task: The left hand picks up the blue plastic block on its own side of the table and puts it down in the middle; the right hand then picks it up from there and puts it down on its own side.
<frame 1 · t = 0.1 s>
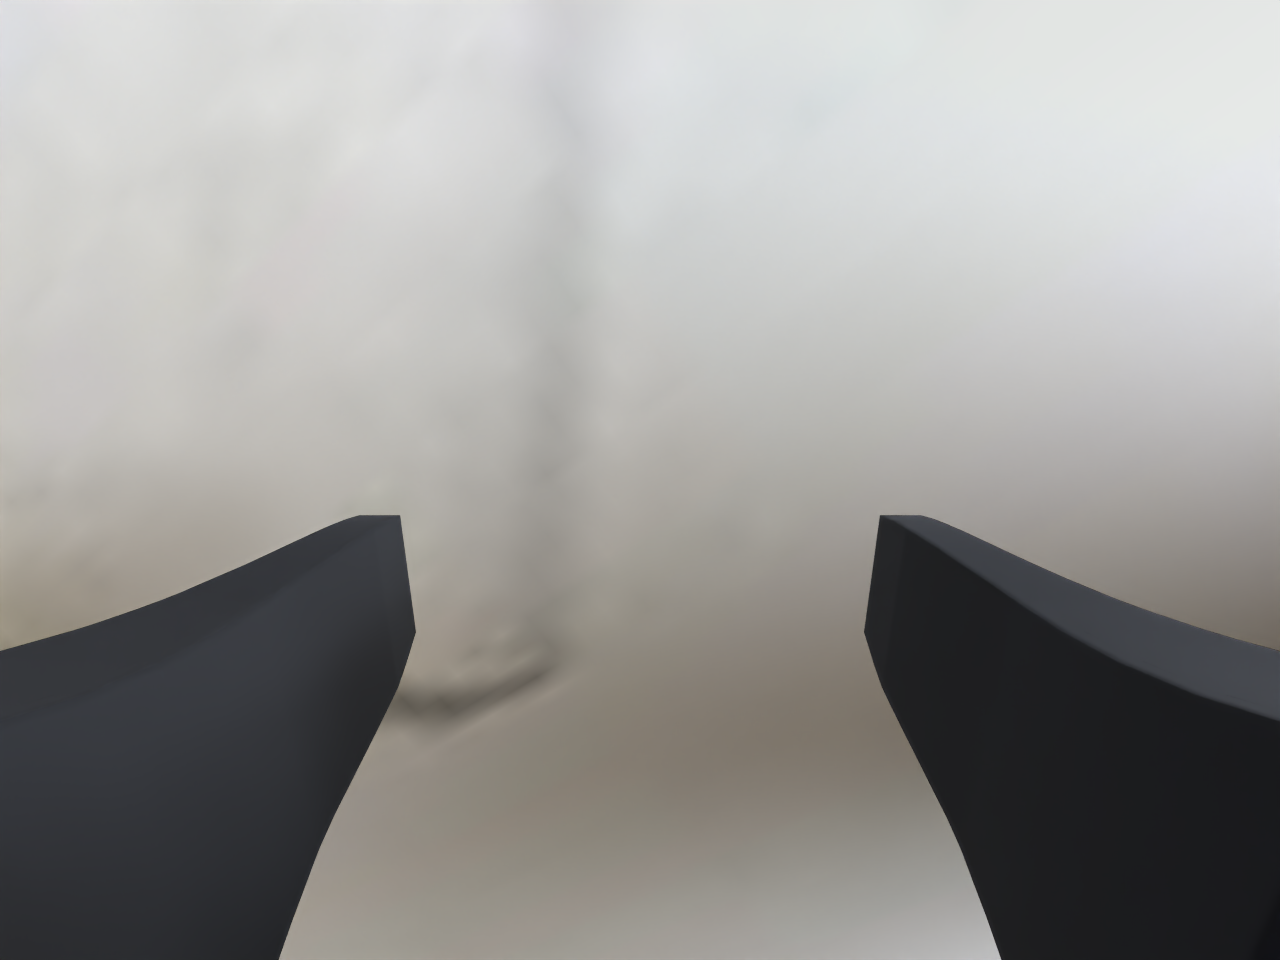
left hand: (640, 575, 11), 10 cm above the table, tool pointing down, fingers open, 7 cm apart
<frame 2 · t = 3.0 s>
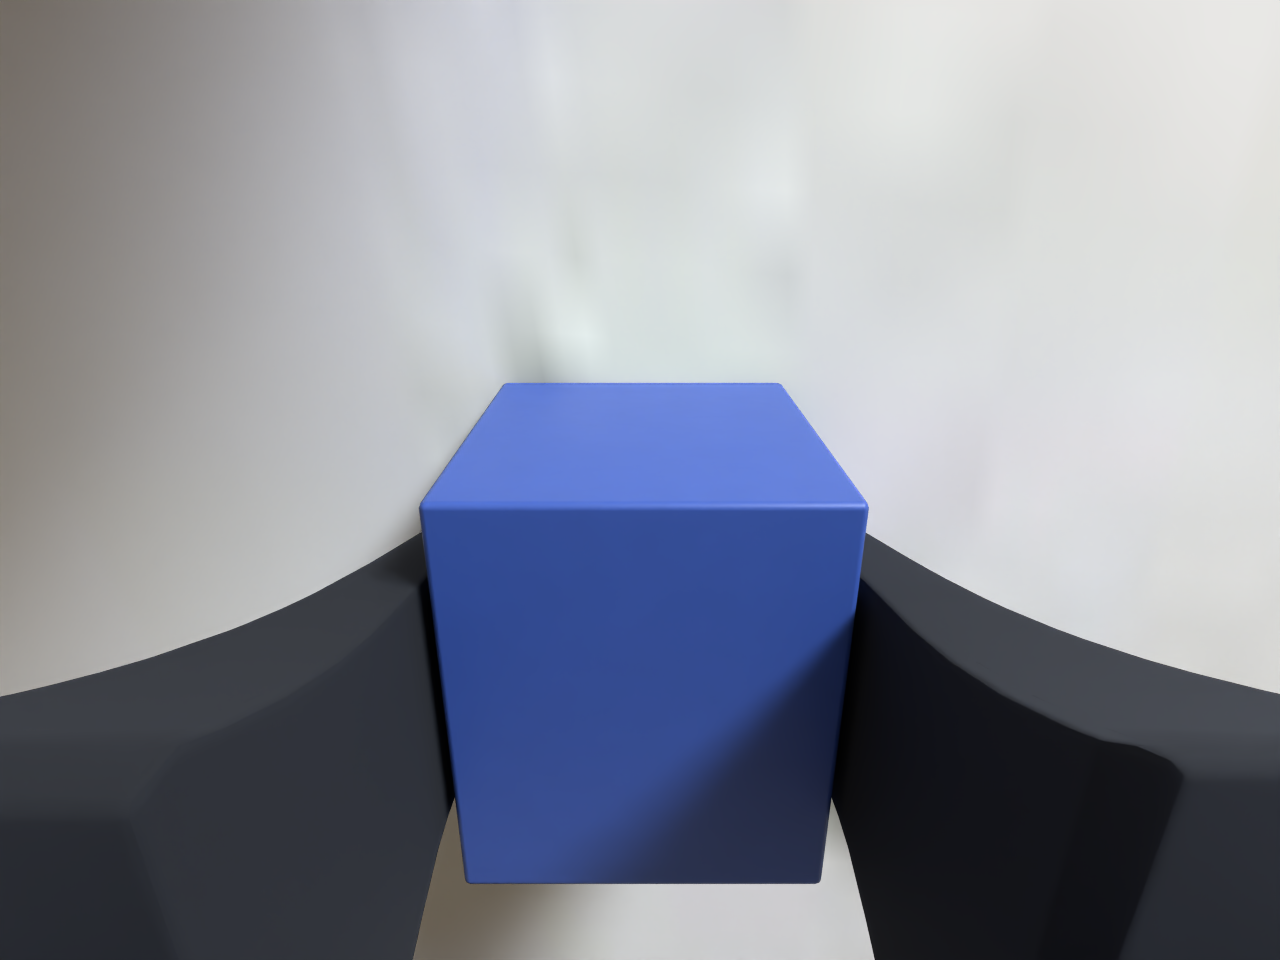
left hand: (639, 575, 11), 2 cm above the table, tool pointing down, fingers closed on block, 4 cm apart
block: (642, 528, 12), on the table, touching left hand
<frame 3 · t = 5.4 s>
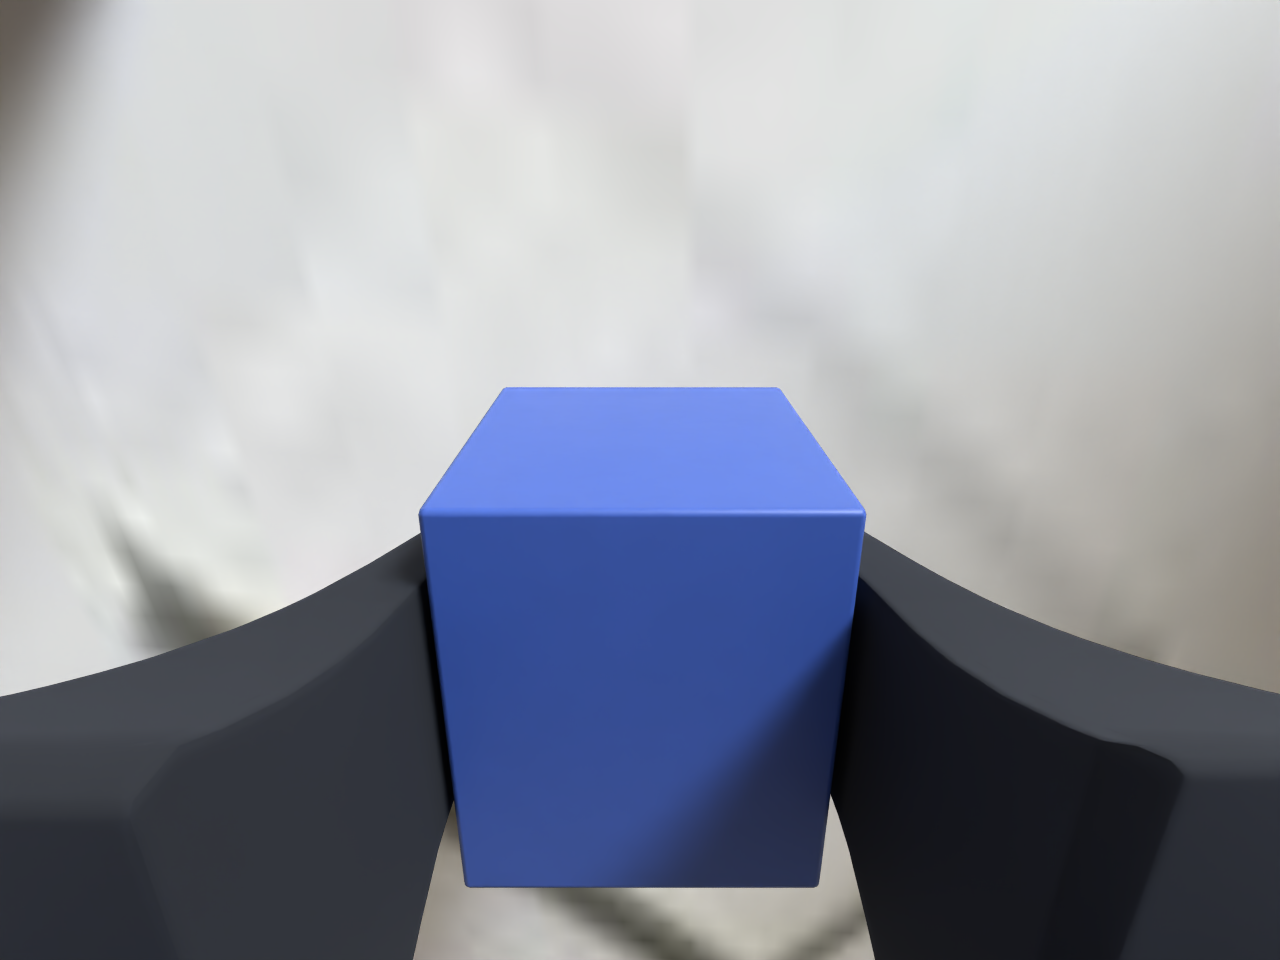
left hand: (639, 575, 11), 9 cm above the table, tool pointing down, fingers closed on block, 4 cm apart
block: (641, 532, 12), point 8 cm above the table, touching left hand
when the left hand's fingers open (2 cm above the table, at t = 7.9 s): block stays where it is, on the table.
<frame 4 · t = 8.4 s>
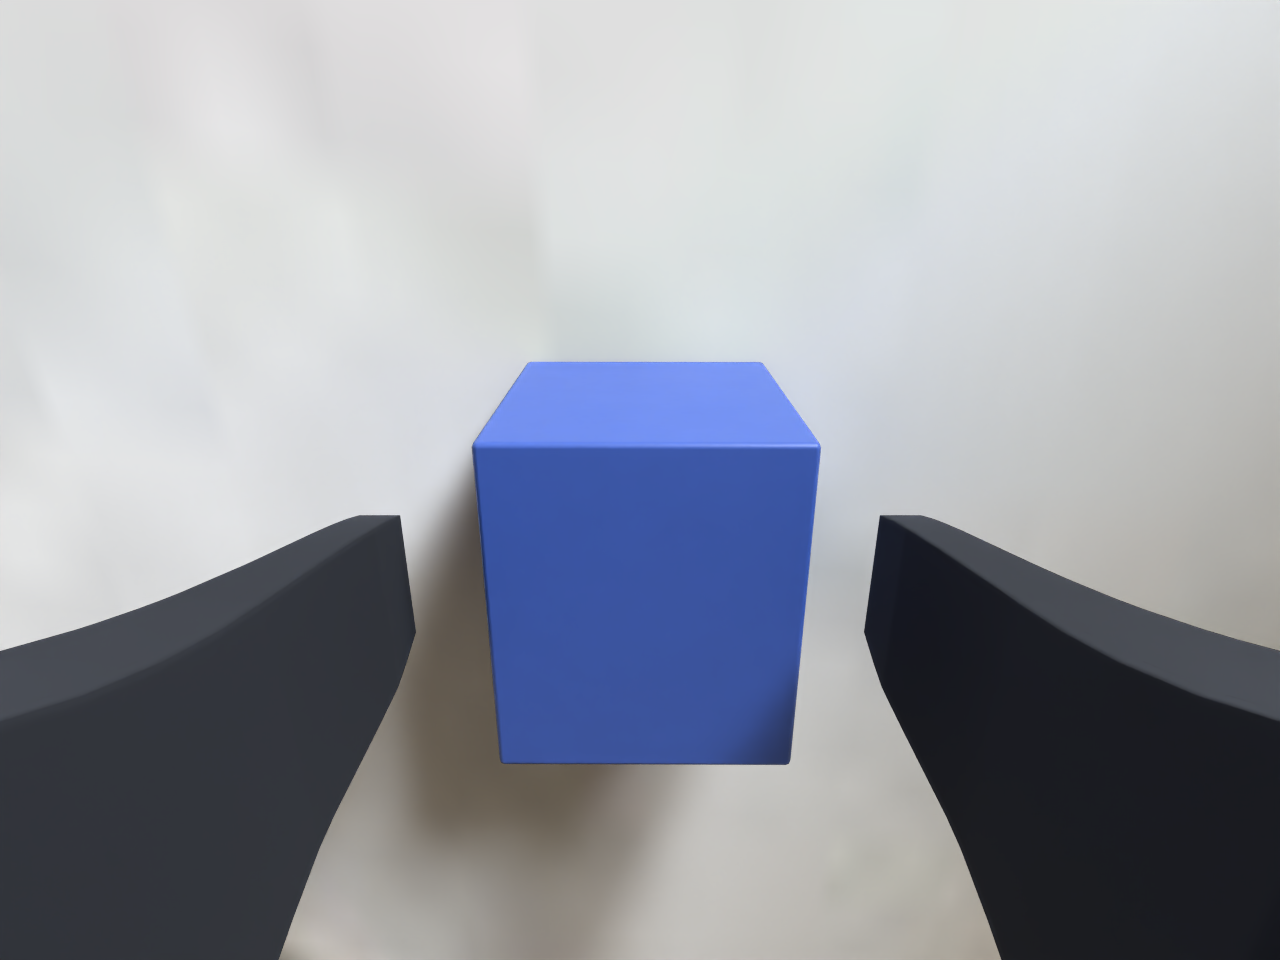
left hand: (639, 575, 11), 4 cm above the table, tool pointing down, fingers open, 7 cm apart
block: (644, 488, 14), on the table
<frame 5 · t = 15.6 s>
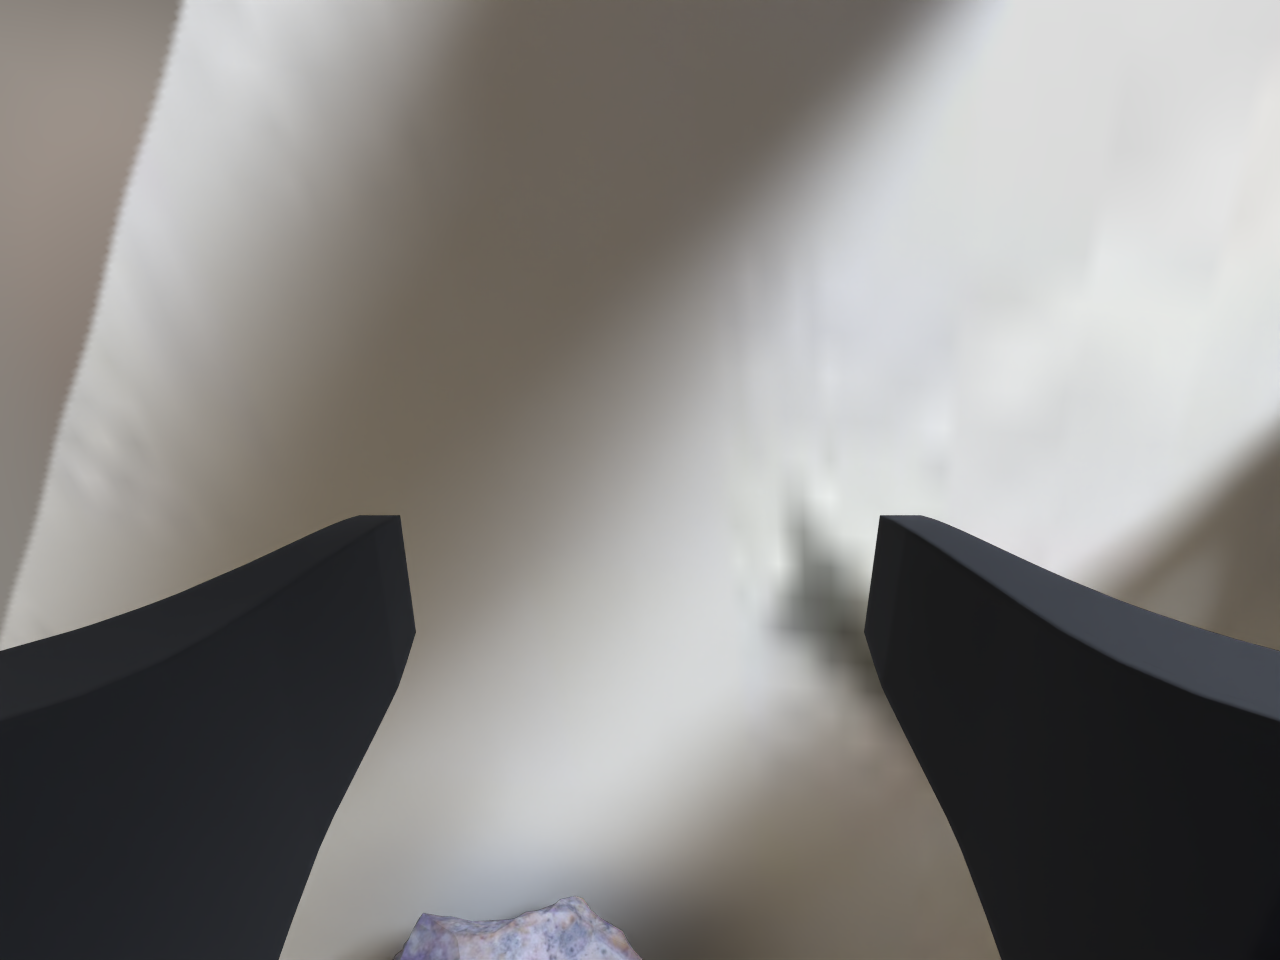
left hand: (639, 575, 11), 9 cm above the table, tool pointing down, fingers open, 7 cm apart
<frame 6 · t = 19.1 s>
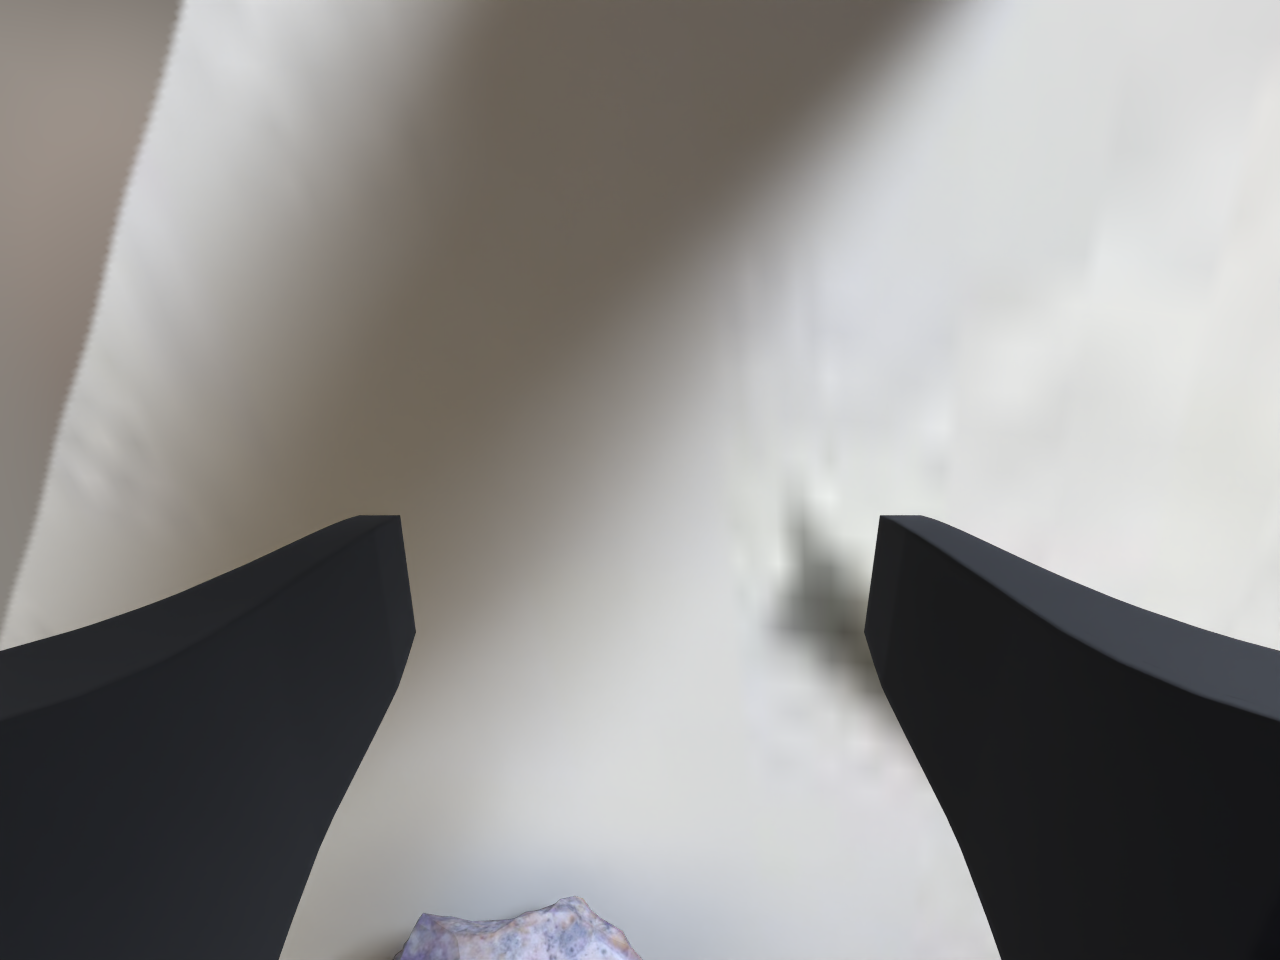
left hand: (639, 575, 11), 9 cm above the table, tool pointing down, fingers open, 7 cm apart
when the right hand's fingers open (3 cm above the table, at t = 22.5 s): block stays where it is, on the table.
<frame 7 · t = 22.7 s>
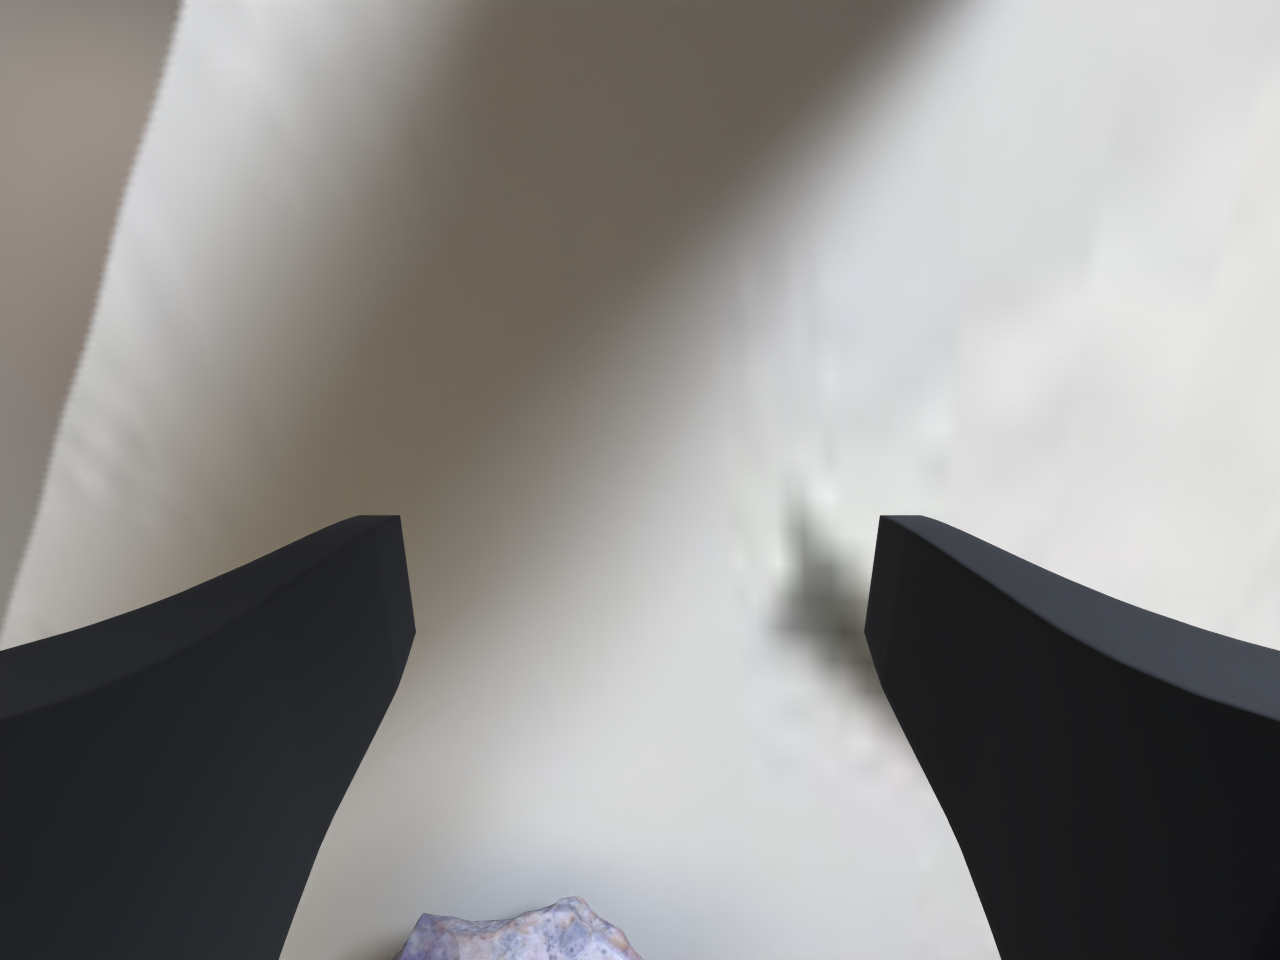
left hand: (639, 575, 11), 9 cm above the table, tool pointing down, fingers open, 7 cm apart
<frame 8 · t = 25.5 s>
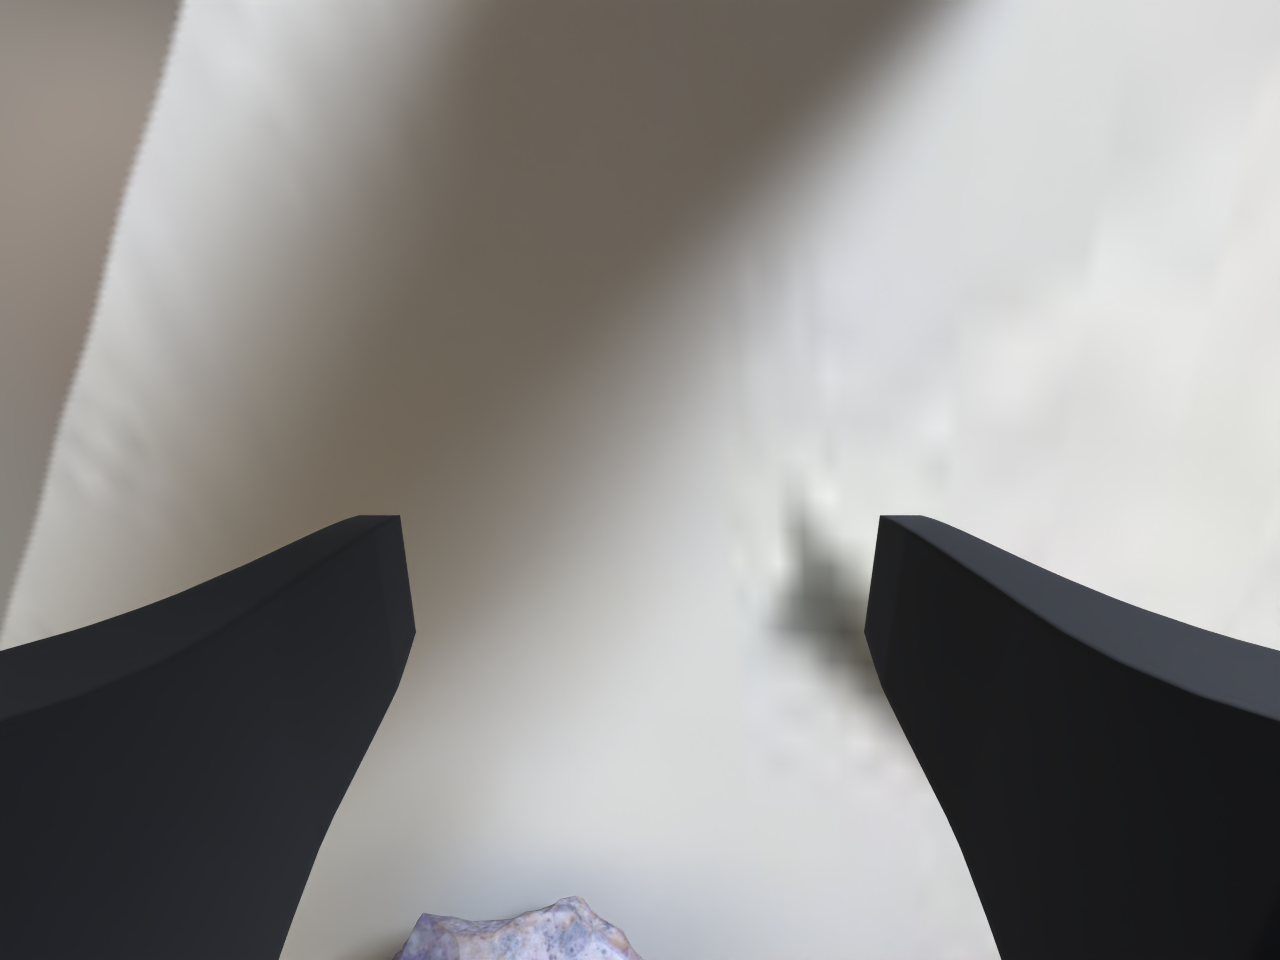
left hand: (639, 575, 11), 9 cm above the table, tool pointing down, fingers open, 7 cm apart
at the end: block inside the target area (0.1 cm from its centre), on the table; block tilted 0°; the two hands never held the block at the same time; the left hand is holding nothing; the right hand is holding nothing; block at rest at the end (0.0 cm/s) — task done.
